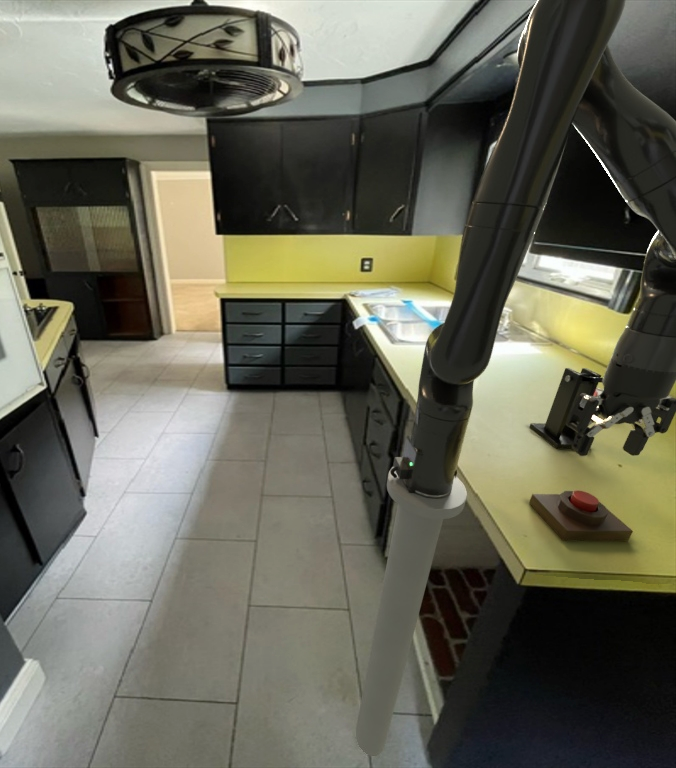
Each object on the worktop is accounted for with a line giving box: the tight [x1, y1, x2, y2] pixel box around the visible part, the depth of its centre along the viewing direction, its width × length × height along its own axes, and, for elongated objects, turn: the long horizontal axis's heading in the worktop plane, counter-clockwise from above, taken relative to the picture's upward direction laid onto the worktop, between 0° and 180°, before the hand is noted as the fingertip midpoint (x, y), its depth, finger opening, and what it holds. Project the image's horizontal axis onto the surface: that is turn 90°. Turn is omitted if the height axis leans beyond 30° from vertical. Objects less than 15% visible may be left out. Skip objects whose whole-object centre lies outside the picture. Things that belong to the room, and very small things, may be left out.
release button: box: [570, 490, 600, 512], centre depth 63 cm, size 4×4×2 cm
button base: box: [528, 490, 634, 542], centre depth 64 cm, size 11×9×4 cm
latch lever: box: [579, 372, 603, 384], centre depth 79 cm, size 13×4×4 cm, turn 0°
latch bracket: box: [529, 367, 602, 450], centre depth 87 cm, size 10×8×18 cm
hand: (604, 453), depth 60 cm, fingers open, 8 cm apart
